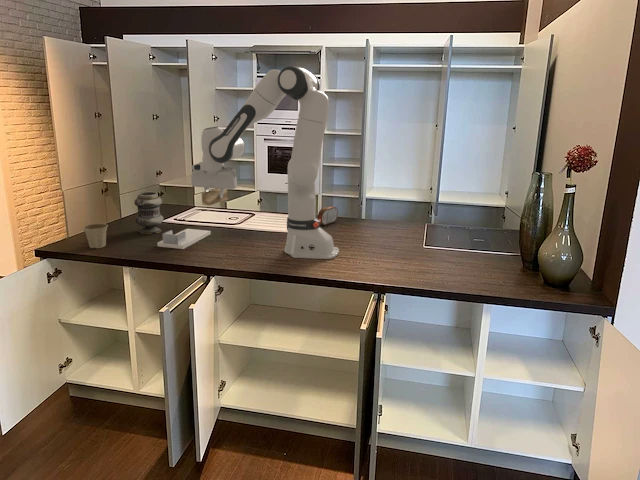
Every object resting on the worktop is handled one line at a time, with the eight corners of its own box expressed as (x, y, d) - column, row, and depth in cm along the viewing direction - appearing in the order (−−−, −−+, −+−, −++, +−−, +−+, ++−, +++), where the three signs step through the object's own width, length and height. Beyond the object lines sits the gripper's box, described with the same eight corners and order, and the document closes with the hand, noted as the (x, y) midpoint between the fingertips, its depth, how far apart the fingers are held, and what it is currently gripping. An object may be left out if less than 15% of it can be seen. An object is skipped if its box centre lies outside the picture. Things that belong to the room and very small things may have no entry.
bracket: (210, 234, 221) (210, 222, 220) (183, 249, 199) (182, 236, 197) (187, 231, 224) (186, 220, 223) (157, 246, 202) (156, 233, 200)
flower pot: (79, 248, 198) (77, 227, 195) (97, 242, 206) (95, 222, 204) (97, 251, 194) (95, 230, 192) (114, 244, 203) (112, 224, 201)
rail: (227, 199, 215) (227, 188, 214) (209, 205, 203) (208, 193, 201) (220, 198, 216) (220, 187, 215) (202, 204, 204) (201, 193, 202)
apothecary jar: (142, 236, 215) (139, 196, 210) (132, 230, 224) (129, 192, 219) (168, 232, 223) (165, 193, 218) (157, 226, 232) (154, 189, 227)
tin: (333, 220, 251) (334, 204, 249) (338, 221, 249) (339, 205, 247) (316, 225, 239) (316, 209, 237) (321, 226, 237) (322, 210, 235)
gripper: (239, 166, 205) (240, 198, 209) (195, 163, 210) (197, 195, 214) (232, 168, 199) (234, 200, 203) (188, 165, 205) (190, 197, 209)
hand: (215, 197), depth 209 cm, fingers closed on rail, 4 cm apart
